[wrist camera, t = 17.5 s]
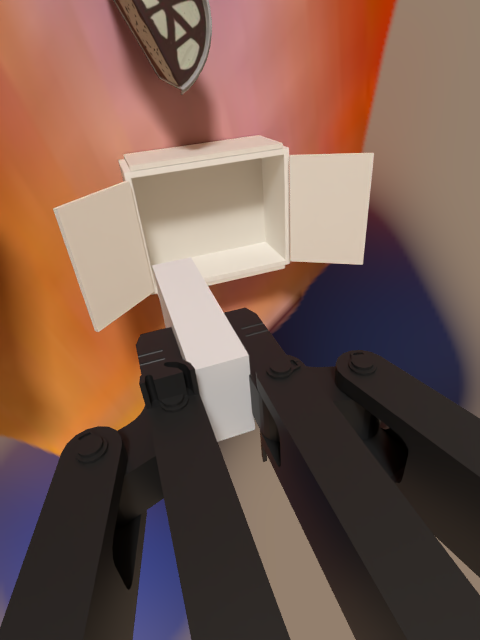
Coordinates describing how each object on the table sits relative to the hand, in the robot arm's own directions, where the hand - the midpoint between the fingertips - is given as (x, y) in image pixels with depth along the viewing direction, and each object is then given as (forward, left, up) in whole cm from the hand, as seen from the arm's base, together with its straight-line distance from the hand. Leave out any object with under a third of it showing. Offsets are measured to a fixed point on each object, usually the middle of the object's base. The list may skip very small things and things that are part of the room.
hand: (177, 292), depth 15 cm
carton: (+9, -8, -36) cm, 38 cm away
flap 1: (-3, -8, -25) cm, 27 cm away
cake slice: (+7, +12, -37) cm, 39 cm away
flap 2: (+21, -8, -26) cm, 34 cm away
